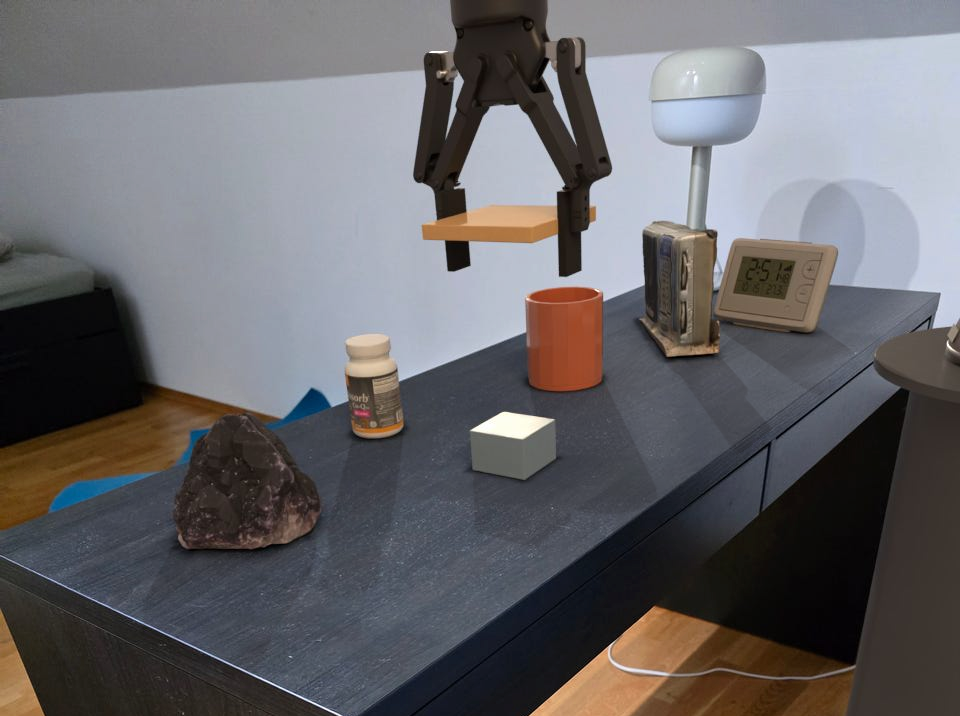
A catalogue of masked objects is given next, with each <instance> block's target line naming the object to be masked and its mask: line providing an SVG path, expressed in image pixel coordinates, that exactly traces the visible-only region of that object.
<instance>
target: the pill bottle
mask: <svg viewBox="0 0 960 716" xmlns="http://www.w3.org/2000/svg"><path fill="white" fill-rule="evenodd" d="M344 344H345V352H346V354H347V357H349V361H347V363H345V366H344V378H345V384H346V385H345V386H346V393H347V399H348V400H347V401H348V406H349V407H348V408H349V415H350V422H351V429H352V432H353V433H354V434H355V435H356V436H357V437H360V438H364V439H367V440H368V439H369V440H371V439H375V440H376V439H383V438H384V439H385V438H390V437H392V436H394V435H397V434H399V433H400V432H401V431H402V430H403V428H404V415H403V414H404V413H403V404H402V397H401V396H402V395H401V389H400V379H399V370H398V368H399V367H398V364H397V361H396V360H395V359H394V358H393V357H392V356H390V352H391V349H392V345H391V339H390V337H389V336H388V335H387V334H381V333H367V334H359V335H355V336H352V337H350V338H347V339H346V340H345V342H344Z"/></svg>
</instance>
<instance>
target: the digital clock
mask: <svg viewBox="0 0 960 716" xmlns="http://www.w3.org/2000/svg"><path fill="white" fill-rule="evenodd" d="M838 249H839V248H837V246H835V245H832V244H825V243H824V244H823V243H813V242H808V241H796V240H783V239H769V238H745V237H738V238H735V239H734V240H733V241H732V243H731V245H730V248H729V251H728V255H727V259H726V263H725V267H724V270H723V274H722V277H721V281H720V285H719V288H718V289H719V290H718V293H717V297H716V300H715V304H714V309H713V317H714V318H715V319H716V320H718V321H726V322H731V323H732V324H733V325H736V326H737V325H738V326H743V327H751V328H756V329H757V328H758V329H762V330H763V329H765V330H770V331H776V332H784V333H791V332H792V331H793V332H799V333H812V332H814V331H815V330H816V328H817V326H818V324H819V320H820V317H821V314H822V312H823V307H824V304H825V301H826V297H827V294H828V292H829V289H830V284H831V282H832V278H833V274H834V271H835V267H836V264H837V261H838V258H839V257H838V256H839V250H838Z"/></svg>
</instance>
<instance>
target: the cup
mask: <svg viewBox="0 0 960 716" xmlns="http://www.w3.org/2000/svg"><path fill="white" fill-rule="evenodd" d="M524 308H525V331H526V332H525V333H526V358H527V359H526V362H527V378H528V384H529V385H530V386H531V387H533V388H535V389H538V390H542V391H548V392H549V391H550V392H574V391H580V390H584V389H588V388H592V387H594V386H595V387H596V386H597V385H599V384H600V383H601V382H602V380H603V371H604V292H603V291H602V290H601V289H598V288H594V287H589V286H558V287H557V286H556V287H549V288H543V289H539V290H535V291H531V292H530V293H528V294H526V296H525V297H524Z"/></svg>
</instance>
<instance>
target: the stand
mask: <svg viewBox="0 0 960 716" xmlns="http://www.w3.org/2000/svg"><path fill="white" fill-rule="evenodd" d="M556 433H557V432H556V419H554V418H548V417H541V416H534V415H528V414H522V413H515V412H508V411H502V412H500V413H498V414H496V415H495V416H493V417H491V418H489V419H488V420H486V421H484V422H483V423H480V424H479V425H477V426H475V427H474V428H472V429H470V430H469V441H470V455H471V468H472V471H476V472H482V473H487V474H491V475H497V476H500V477H506V478H511V479H517V480H523V481H525V480H527V479H528V478H529V477H531V476H532V475H534V474H535V473H537V472H538V471H540V470H542V469H543V468H544V467H546V466H547V465H549V464H550V463H552V462H554V461H555V460H557V436H556Z"/></svg>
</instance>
